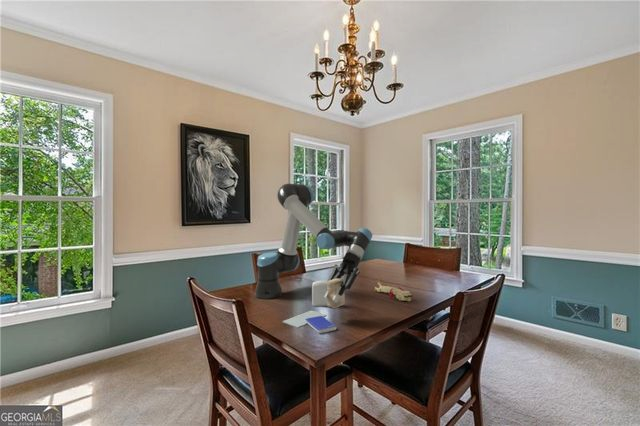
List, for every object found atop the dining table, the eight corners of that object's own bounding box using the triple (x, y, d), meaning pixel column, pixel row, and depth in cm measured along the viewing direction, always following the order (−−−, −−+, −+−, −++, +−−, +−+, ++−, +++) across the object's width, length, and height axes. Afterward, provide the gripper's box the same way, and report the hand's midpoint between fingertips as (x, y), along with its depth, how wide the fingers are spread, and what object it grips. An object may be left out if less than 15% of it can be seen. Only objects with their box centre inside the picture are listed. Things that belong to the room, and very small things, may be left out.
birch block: (327, 306, 131) (327, 281, 130) (337, 302, 136) (337, 278, 135) (334, 308, 128) (334, 282, 128) (344, 304, 133) (344, 279, 133)
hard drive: (336, 325, 122) (322, 315, 133) (318, 329, 118) (305, 318, 129) (336, 329, 122) (322, 318, 133) (318, 333, 118) (305, 322, 129)
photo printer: (312, 306, 150) (311, 282, 150) (312, 303, 155) (312, 279, 154) (332, 306, 150) (332, 281, 150) (332, 303, 154) (332, 279, 154)
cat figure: (371, 294, 173) (403, 303, 152) (370, 279, 174) (402, 285, 152) (384, 292, 178) (417, 299, 157) (383, 277, 179) (416, 282, 157)
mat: (282, 322, 130) (282, 321, 130) (311, 311, 144) (311, 310, 144) (297, 327, 124) (297, 327, 124) (326, 315, 137) (326, 314, 137)
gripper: (372, 263, 137) (350, 309, 125) (342, 259, 148) (320, 300, 137) (365, 253, 133) (342, 299, 121) (335, 249, 144) (311, 291, 133)
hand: (330, 299), depth 129 cm, fingers closed on birch block, 4 cm apart
